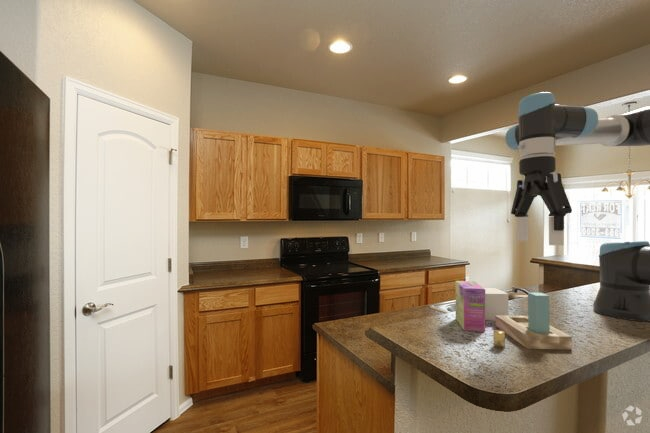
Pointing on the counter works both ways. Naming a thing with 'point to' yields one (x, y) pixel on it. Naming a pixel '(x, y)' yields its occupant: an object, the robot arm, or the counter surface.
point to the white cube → (495, 303)
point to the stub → (499, 339)
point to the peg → (538, 313)
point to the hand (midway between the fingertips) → (537, 243)
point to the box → (470, 305)
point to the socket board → (532, 334)
